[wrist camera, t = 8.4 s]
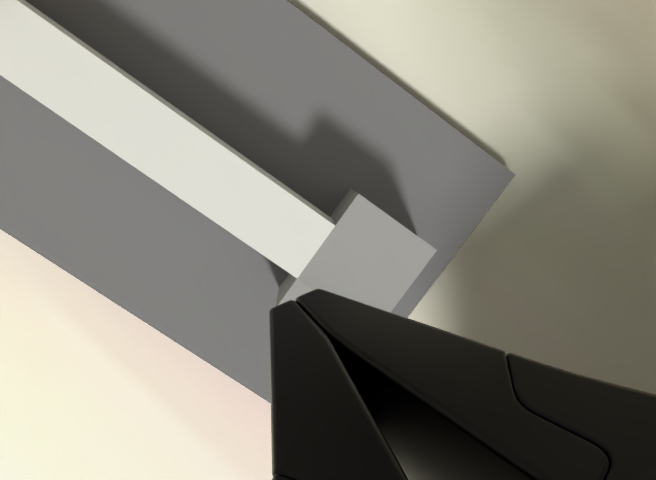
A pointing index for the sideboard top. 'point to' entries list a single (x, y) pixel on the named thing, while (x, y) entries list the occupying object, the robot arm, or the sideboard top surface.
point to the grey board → (224, 166)
